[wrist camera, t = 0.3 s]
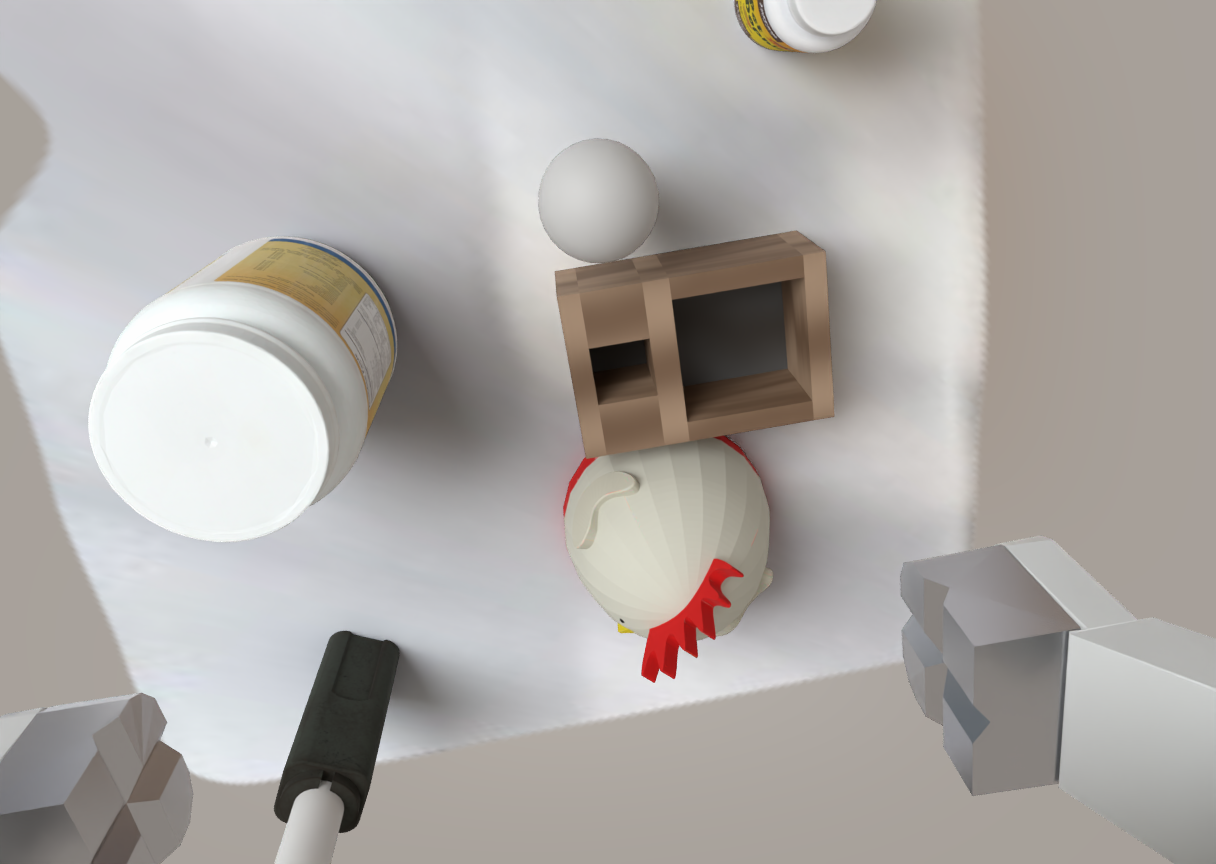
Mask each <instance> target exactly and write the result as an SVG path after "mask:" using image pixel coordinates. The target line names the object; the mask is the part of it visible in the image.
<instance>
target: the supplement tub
mask: <svg viewBox="0 0 1216 864" xmlns="http://www.w3.org/2000/svg"><path fill="white" fill-rule="evenodd" d="M396 358H397V333H396V328H395V323H394V319H393V315H392V312H391V310H390V307H389V304H388V302H387V300H386V298H385V296H384V295H383V293H382V291H381V290H380V288H379V287H378V285H377V284H376V283H375V281H374V280H373V279H372V278H371V277H370V275H369V274H368V273H367V272H366V271H365V270H364V269H363V268H362V267H361V266H359V265H358V264H357V263H356V262H355V261H353V260H352V259H350V258H349V257H348V256H346V255H344V254H343V253H341V252H340V251H338V250H336V249H334V248H332V247H330V246H327V245H325V244H322V243H319V242H316V241H313V240H309V239H304V238H297V237H289V236H278V237H266V238H260V239H256V240H252V241H249V242H246V243H243V244H241V245H238V246H236V247H234V248H232V249H230V250H229V251H227V252H226V253H224V254H223V255H221V256H220V257H219V258H218V259H216V260H215V261H213V262H212V263H210V264H209V265H207V266H206V267H204V268H203V269H201V270H200V271H199V272H197V273H196V274H194V275H193V276H191V277H190V278H188V279H187V280H185V281H184V282H183V283H181V284H180V285H178V286H177V287H175V288H174V289H172V290H171V291H169V292H168V293H166V294H165V295H163V296H161V297H160V298H158V299H156V300H155V301H153V302H152V303H150V304H149V305H147V306H146V307H145V308H143V309H142V310H141V311H140V312H139V313H138V314H137V315H136V316H135V317H134V318H133V319H132V320H131V321H130V323H129V324H128V325H127V327H126V328H125V329H124V330H123V332H122V333H121V335H120V337H119V338H118V340H117V342H116V343H115V345H114V347H113V350H112V352H111V355H110V358H109V361H108V364H107V368H106V370H105V372H104V373H103V375H102V376H101V378H100V380H99V382H98V384H97V386H96V388H95V390H94V393H93V396H92V400H91V404H90V409H89V421H88V425H89V437H90V442H91V446H92V450H93V453H94V455H95V458H96V461H97V463H98V465H99V467H100V469H101V471H102V473H103V475H104V476H105V478H106V479H107V481H108V482H109V484H110V485H111V487H112V488H113V489H114V491H115V492H116V493H117V494H118V495H119V496H120V497H121V498H122V499H123V500H124V501H125V502H126V503H127V504H128V505H129V506H130V507H132V508H133V509H134V510H135V511H136V512H138V513H139V514H140V515H142V516H143V517H145V518H146V519H148V520H150V521H151V522H153V523H155V524H157V525H158V526H160V527H162V528H165V529H167V530H169V531H172V532H174V533H177V534H180V535H183V536H186V537H190V538H195V539H199V540H205V541H213V542H237V541H245V540H251V539H255V538H259V537H262V536H265V535H268V534H270V533H272V532H275V531H277V530H279V529H281V528H283V527H285V526H287V525H288V524H290V523H291V522H293V521H294V520H295V519H296V518H298V517H299V516H300V515H301V514H302V513H303V512H304V511H305V510H306V509H307V508H308V507H309V506H311V505H313V504H315V503H316V502H318V501H319V500H321V499H322V498H323V497H325V496H326V495H327V494H328V493H330V492H331V491H332V490H333V489H334V488H335V487H336V486H337V485H338V484H339V483H340V482H341V481H342V480H343V478H344V477H345V476H346V475H347V474H348V472H349V471H350V469H351V468H352V467H353V465H354V463H355V461H356V460H357V458H358V456H359V453H360V451H361V449H362V446H363V443H364V440H365V437H366V435H367V433H368V430H369V428H370V426H371V423H372V421H373V418H374V416H375V414H376V411H377V409H378V406H379V404H380V401H381V399H382V397H383V394H384V392H385V389H386V387H387V385H388V383H389V381H390V379H391V377H392V374H393V371H394V368H395V364H396Z"/></svg>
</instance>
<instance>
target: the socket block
mask: <svg viewBox="0 0 1216 864" xmlns="http://www.w3.org/2000/svg"><path fill="white" fill-rule="evenodd" d="M555 280H556V293H557V301H558V306H559V312H560V317H561V323H562V328H563V334H564V339H565V345H566V350H567V356H568V361H569V367H570V372H571V378H572V383H573V389H574V394H575V400H576V405H577V411H578V417H579V422H580V428H581V433H582V439H583V444H584V450H585V455H586V459H589V458H595V457H601V456H606V455H612V454H618V453H624V452H630V451H636V450H642V449H648V448H653V447H659V446H665V445H671V444H677V443H683V442H689V441H694V440H700V439H706V438H712V437H718V436H724V435H730V434H736V433H741V432H747V431H753V430H759V429H765V428H771V427H777V426H782V425H788V424H794V423H800V422H806V421H812V420H818V419H824V418H829V417H834V398H833V380H832V361H831V343H830V324H829V306H828V287H827V269H826V251H824V250H823V249H821V248H820V247H819V246H817V245H816V244H815V243H813V242H812V241H810V240H809V239H808V238H806V237H805V236H803V235H802V234H801V233H799V232H798V231H791V232H785V233H779V234H773V235H767V236H762V237H756V238H750V239H744V240H738V241H732V242H726V243H720V244H714V245H708V246H703V247H697V248H691V249H685V250H679V251H673V252H667V253H661V254H655V255H649V256H643V257H638V258H632V259H626V260H620V261H614V262H608V263H602V264H596V265H590V266H584V267H578V268H573V269H567V270H561V271H555Z"/></svg>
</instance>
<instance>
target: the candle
mask: <svg viewBox="0 0 1216 864" xmlns="http://www.w3.org/2000/svg"><path fill="white" fill-rule="evenodd" d="M398 659H399V649H398V648H397V646H396V645H395V644H394V643H392V642H391V641H388V640H384V641H379V640H374V639H370V638H365V637H361V636H357V635H352V634H351V632H348V631H340V632H337V633H335V634H334V635H332V636H331V638H330V639H329V642H328V644H327V647H326V650H325V653H324V656H323V659H322V662H321V665H320V667H319V670H318V673H317V676H316V679H315V682H314V685H313V688H312V690H311V693H310V696H309V699H308V702H307V705H306V708H305V711H304V713H303V716H302V719H301V722H300V725H299V728H298V731H297V734H296V736H295V739H294V742H293V745H292V748H291V751H290V754H289V757H288V759H287V762H286V765H285V768H284V771H283V774H282V778H281V782H280V786H279V790H278V793H277V797H276V801H275V805H274V812H275V814H276V816H277V817H278V818H279V819H280V820H281V821H283V822H285V823H287V826H286V829H285V832H284V835H283V839H282V841H281V845H280V848H279V851H278V854H277V857H276V860H275V863H274V864H331V861H332V857H333V853H334V849H335V844H336V841H337V836H338V833H344V832H348V831H350V830H352V829H354V828H355V827H356V826H357V824H358V823H359V820H360V817H361V814H362V810H363V808H364V804H365V801H366V798H367V795H368V792H369V788H370V784H371V780H372V775H373V770H374V766H375V762H376V757H377V753H378V748H379V744H380V739H381V735H382V731H383V726H384V722H385V717H386V713H387V708H388V704H389V699H390V695H391V690H392V686H393V682H394V677H395V673H396V668H397V664H398Z"/></svg>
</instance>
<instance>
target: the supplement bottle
mask: <svg viewBox="0 0 1216 864" xmlns="http://www.w3.org/2000/svg"><path fill="white" fill-rule="evenodd" d="M876 2H877V0H734V9H735V13H736V17H737V20H738V22H739V24H740V26H741V28H742V30H743V31H744V32H745V34H746V35H747V36H748V37H749V38H750V39H751V40H752V41H753V42H755V43H756V44H758V45H760V46H762V47H764V48H767V49H771V50H776V51H790V52H804V53H822V52H828V51H832V50H835V49H837V48H840V47H841V46H843V45H845V44H847V43H848V42H850V41H851V40H852V39H853V38H855V37H856V36H857V35H858V34H859V33H860V32H861V30H862V29H863V28H864V27H865V25H866V24H867V22H868V21H869V19H870V17H871V15H872V13H873V11H874V9H875V5H876Z"/></svg>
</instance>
